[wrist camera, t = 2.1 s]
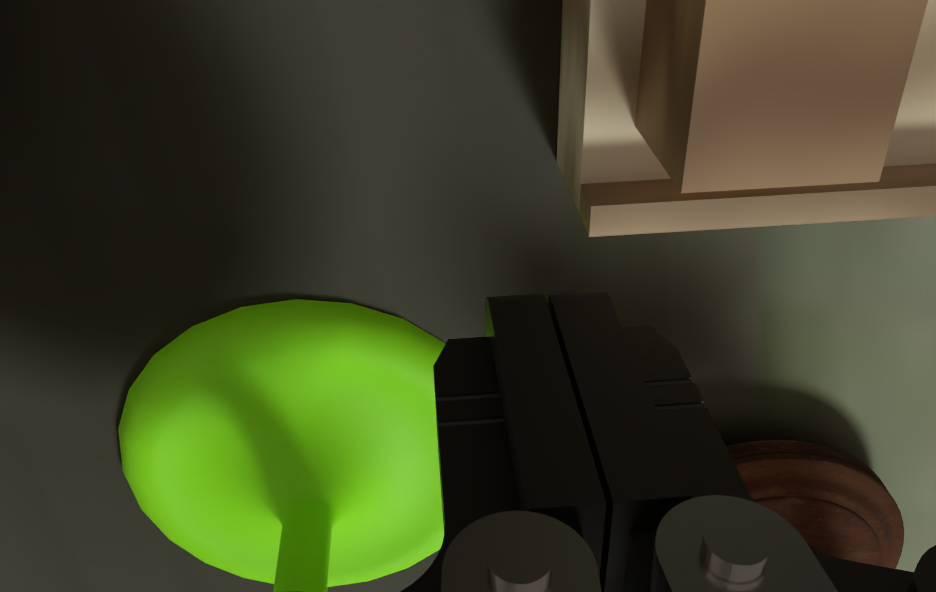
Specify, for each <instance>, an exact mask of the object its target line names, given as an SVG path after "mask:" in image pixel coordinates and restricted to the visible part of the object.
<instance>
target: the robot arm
mask: <svg viewBox="0 0 936 592" xmlns="http://www.w3.org/2000/svg"><path fill="white" fill-rule="evenodd" d="M485 333H486V337H476V338H461V339H448V341H447V342H446V344H445V346H444V348H443V350H442V351H441V353H440V355H439V357H438V358H437V360H436V362H435V364H434V366H433V370H434V387H435V404H436V421H437V438H438V455H439V470H440V484H441V498H442V512H443V525H444V538H443V543H442V546H441V548H440V551H439V553H438V555H437V557H436V558H435V560H434V562H433V563H432V565H431V566H430V567H429V568H428V570H427V571H426V572H425V573H424V574H423V575H422V576H421V577H420V578H419V579H418V580H416V581H415V582H414V583H413V584H412V585H410V586H408V587H407V588H405V589H404V590H402V591H401V592H936V545H935V546H933V547H932V548H930V549H928V550H927V551H926V552H925V553H924V554H923V555H922V557H921V559H920V560H919V562H918V564H917V566H916V569H915V571H914V572H909V571H903V570H898V569H893V568H887V567H882V566H877V565H871V564H866V563H860V562H855V561H850V560H845V559H841V558H836V557H832V556H829V555H826V554H823V553H820V552H817V551H815V550H812V549H810V547H809V546H808V544H807V543H806V541H805V540H804V538H803V537H802V536H801V534H800V533H799V532H798V531H797V530H796V529H795V528H794V527H793V526H792V525H791V524H790V523H789V522H788V521H787V520H785V519H784V518H783V517H781V516H780V515H779V514H777V513H775V512H773V511H772V510H770V509H768V508H767V507H764V506H762V505H760V504H757V503H755V502H754V501H753V499H752V498H751V496H750V494H749V492H748V490H747V488H746V486H745V484H744V482H743V480H742V478H741V476H740V474H739V472H738V470H737V468H736V466H735V464H734V462H733V460H732V458H731V456H730V454H729V452H728V450H727V448H726V446H725V444H724V442H723V440H722V438H721V436H720V434H719V432H718V430H717V428H716V426H715V424H714V422H713V420H712V418H711V416H710V414H709V412H708V410H707V408H704V405H703V400H702V398H701V395H700V393H699V391H698V389H697V387H696V385H695V383H693V384H692V377H691V375H690V373H689V371H688V369H687V367H686V365H685V363H684V361H683V359H682V357H681V355H680V353H679V351H678V349H677V348H675V347H674V346H673V345H672V344H670V343H669V342H668V341H667V340H666V339H664V338H663V337H662V336H661V335H659V334H658V333H657V332H656V331H655V330H653V329H652V328H651V327H650V326H638V327H623V328H621V325H620V323H619V320H618V318H617V316H616V313H615V311H614V308H613V306H612V304H611V301H610V299H609V296H608V294H607V292H606V291H605V290H590V291H574V292H558V293H547V294H546V296H544V294H530V295H515V296H499V297H486V302H485ZM296 592H299V591H296Z"/></svg>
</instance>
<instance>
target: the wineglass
mask: <svg viewBox="0 0 936 592" xmlns="http://www.w3.org/2000/svg"><path fill="white" fill-rule="evenodd" d="M445 344H446V343H444V342H442V341H441V340H439V339H437V338H435V337H434V336H432V335H430V334H429V333H427V332H425V331H423V330H422V329H420V328H418V327H417V326H415V325H413V324H411V323H410V322H408V321H406V320H405V319H402V318H399V317H396V316H392V315H389V314H386V313H382V312H379V311H376V310H372V309H369V308H366V307H362V306H359V305H356V304H352V303H341V302H328V301H314V300H301V299H293V300H286V301H280V302H273V303H266V304H259V305H252V306H245V307H240V308H237V309H235V310H232V311H230V312H227V313H225V314H222V315H220V316H217V317H215V318H212V319H209V320H207V321H204V322H202V323H199V324H197V325H194V326H192V327H190V328H189V329H188V330H186V331H185V332H184V333H182V334H181V335H180V336H178V337H177V338H176V339H174V340H173V341H172V342H170V343H169V344H168V345H166V346H165V347H164V348H162V349H161V350H160V351H158V352H157V353H156V354H154V355H153V357H152V358H151V359H150V361H149V362H148V364H147V365H146V366H145V368H144V369H143V371H142V372H141V373H140V375H139V376H138V378H137V379H136V380H135V382H134V383H133V385H132V386H131V387H130V389H129V391H128V394H127V398H126V402H125V405H124V409H123V413H122V417H121V420H120V424H119V428H118V432H119V441H120V451H121V460H122V469H123V473H124V475H125V477H126V479H127V481H128V483H129V485H130V487H131V489H132V491H133V493H134V495H135V497H136V499H137V501H138V504H139V506H140V508H141V509H142V510H143V512H144V513H145V514H146V515H147V516H148V517H149V518H150V519H151V520H152V521H153V522H154V523H155V525H156V526H157V527H158V528H159V529H160V530H161V531H162V532H163V533H164V534H165V535H166V536H167V537H168V539H170V540H171V541H173V542H174V543H176V544H177V545H179V546H180V547H182V548H183V549H185V550H186V551H188V552H189V553H191V554H192V555H194V556H195V557H197V558H198V559H200V560H201V561H203V562H205V563H207V564H210V565H212V566H215V567H217V568H220V569H222V570H225V571H227V572H230V573H232V574H235V575H237V576H240V577H242V578H247V579H252V580H257V581H262V582H267V583H272V584H274V589H273V592H296V591H299V592H327V587H332V586H338V585H345V584H352V583H359V582H366V581H370V580H373V579H376V578H379V577H382V576H385V575H388V574H391V573H394V572H397V571H400V570H403V569H406V568H408V567H410V566H412V565H414V564H415V563H417V562H419V561H421V560H422V559H424V558H426V557H428V556H429V555H431V554H433V553H434V552H436V551H438V550H440V548H441V546H442V543H443V538H444V525H443V512H442V498H441V484H440V470H439V455H438V438H437V421H436V404H435V387H434V370H433V366H434V364H435V362H436V360H437V358H438V357H439V355H440V353H441V351H442V350H443V348H444V346H445Z"/></svg>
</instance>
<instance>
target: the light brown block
mask: <svg viewBox="0 0 936 592" xmlns="http://www.w3.org/2000/svg"><path fill="white" fill-rule="evenodd" d="M927 3H928V0H646V8H645V19H644V30H643V41H642V52H641V63H640V74H639V86H638V97H637V108H636V119H635V127H636V128H637V130H638V131H639V133H640V134H641V136H642V137H643V139H644V140H645V142H646V143H647V144H648V146H649V147H650V149H651V150H652V152H653V153H654V155H655V156H656V157H657V159H658V160H659V162H660V163H661V165H662V166H663V168H664V169H665V171H666V172H667V173H668V175H669V176H670V178H671V179H672V181H673V182H674V184H675V185H676V187H677V188H678V189H679V191H680V192H681V193H694V192H712V191H729V190H746V189H763V188H780V187H797V186H814V185H831V184H848V183H866V182H879V180H880V177H881V173H882V169H883V165H884V162H885V158H886V154H887V151H888V147H889V143H890V140H891V136H892V132H893V128H894V125H895V121H896V117H897V114H898V110H899V106H900V103H901V99H902V95H903V91H904V88H905V84H906V80H907V77H908V73H909V69H910V66H911V62H912V58H913V54H914V51H915V47H916V43H917V40H918V36H919V32H920V29H921V25H922V21H923V18H924V14H925V10H926V6H927Z"/></svg>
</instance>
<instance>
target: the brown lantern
mask: <svg viewBox="0 0 936 592" xmlns="http://www.w3.org/2000/svg"><path fill="white" fill-rule="evenodd" d="M726 448H727V450H728V452H729V454H730V456H731V458H732V460H733V462H734V464H735V466H736V468H737V470H738V472H739V474H740V476H741V478H742V480H743V482H744V484H745V486H746V488H747V490H748V492H749V494H750V496H751V498H752V499H753V501H754V502H755V503H757V504H760V505H762V506H764V507H767V508H768V509H770V510H772V511H773V512H775V513H777V514H779V515H780V516H781V517H783V518H784V519H785V520H787V521H788V522H789V523H790V524H791V525H792V526H793V527H794V528H795V529H796V530H797V531H798V532H799V533H800V534H801V536H802V537H803V538H804V540H805V541H806V543H807V544H808V546H809V547H810V549H812V550H815V551H817V552H820V553H823V554H826V555H829V556H832V557H836V558H841V559H845V560H850V561H855V562H860V563H866V564H871V565H877V566H882V567H887V568H893V569H895V568H896V566H897V564H898V561H899V558H900V556H901V552H902V547H903V542H904V527H903V520H902V517H901V513H900V510H899V508H898V506H897V504H896V502H895V501H894V499H893V498H892V496H891V495H890V493H889V492H888V490H887V489H886V487H885V486H884V484H883V483H882V481H881V480H880V478H879V477H878V476H877V475H876V474H875V473H874V472H873V471H872V470H871V469H870V468H869V467H868V466H866V465H865V464H864V463H863V462H861V461H860V460H858V459H856V458H855V457H853V456H851V455H849V454H847V453H845V452H843V451H840V450H838V449H835V448H832V447H829V446H825V445H821V444H816V443H811V442H804V441H794V440H763V441H754V442H746V443H740V444H734V445H729V446H726Z"/></svg>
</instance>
